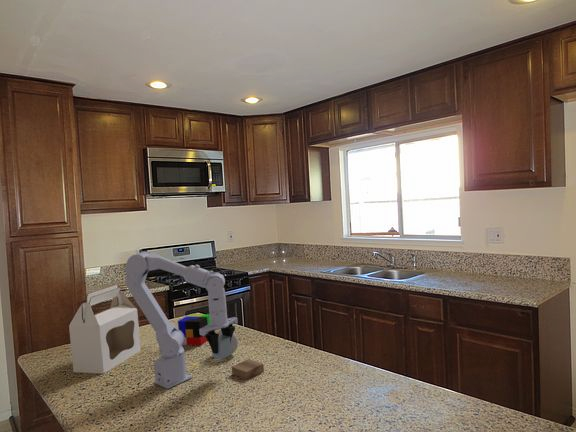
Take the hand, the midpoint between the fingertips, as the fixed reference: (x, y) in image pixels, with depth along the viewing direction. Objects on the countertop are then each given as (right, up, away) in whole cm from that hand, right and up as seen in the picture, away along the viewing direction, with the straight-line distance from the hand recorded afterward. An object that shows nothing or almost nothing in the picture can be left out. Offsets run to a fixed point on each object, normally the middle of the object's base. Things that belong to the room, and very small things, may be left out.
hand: (221, 350), depth 134 cm
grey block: (0, -2, 0) cm, 2 cm away
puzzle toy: (-17, -9, +37) cm, 41 cm away
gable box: (-47, -11, +21) cm, 52 cm away
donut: (-1, -8, +19) cm, 20 cm away
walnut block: (+9, -8, +1) cm, 12 cm away
